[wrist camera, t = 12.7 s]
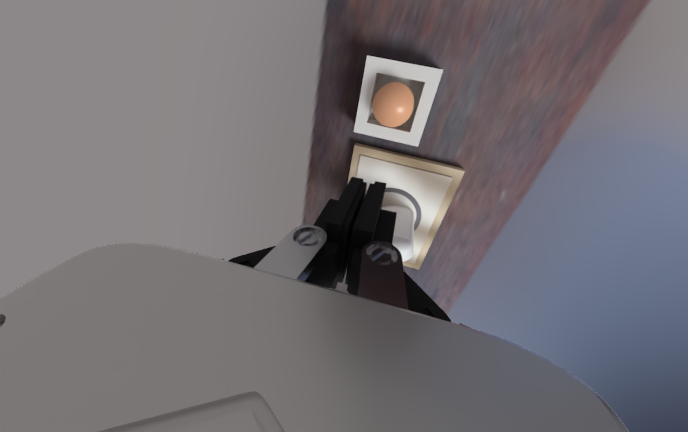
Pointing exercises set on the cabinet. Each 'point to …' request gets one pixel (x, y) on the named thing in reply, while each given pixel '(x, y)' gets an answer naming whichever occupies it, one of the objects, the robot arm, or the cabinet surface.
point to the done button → (393, 104)
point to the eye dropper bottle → (403, 230)
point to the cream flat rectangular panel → (410, 189)
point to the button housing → (420, 83)
